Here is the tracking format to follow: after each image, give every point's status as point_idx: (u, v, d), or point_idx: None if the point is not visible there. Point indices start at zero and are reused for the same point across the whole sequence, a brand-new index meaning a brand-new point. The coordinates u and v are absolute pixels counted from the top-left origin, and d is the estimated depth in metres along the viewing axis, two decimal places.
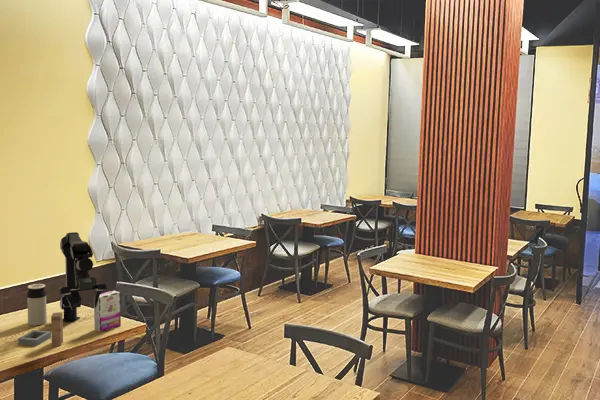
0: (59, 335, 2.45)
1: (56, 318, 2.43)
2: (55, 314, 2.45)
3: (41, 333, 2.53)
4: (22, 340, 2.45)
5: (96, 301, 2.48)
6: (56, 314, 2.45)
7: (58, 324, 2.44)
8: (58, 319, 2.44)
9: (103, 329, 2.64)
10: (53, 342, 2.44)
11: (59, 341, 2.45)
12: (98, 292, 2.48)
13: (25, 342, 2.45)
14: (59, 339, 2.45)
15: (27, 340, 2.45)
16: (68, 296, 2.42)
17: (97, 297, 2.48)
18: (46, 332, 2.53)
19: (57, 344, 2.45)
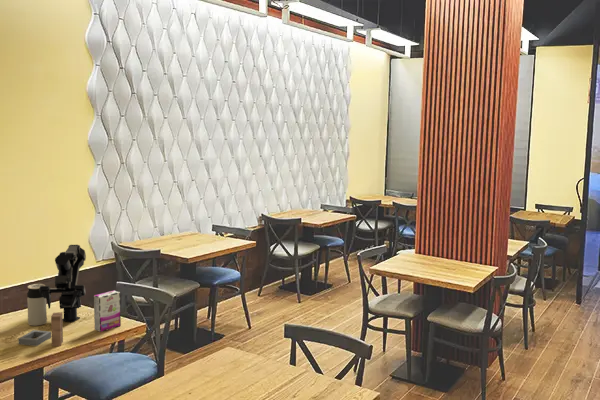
0: (59, 335, 2.45)
1: (56, 318, 2.43)
2: (55, 314, 2.45)
3: (41, 333, 2.53)
4: (22, 340, 2.45)
5: (72, 301, 2.55)
6: (56, 314, 2.45)
7: (58, 324, 2.44)
8: (58, 319, 2.44)
9: (103, 329, 2.64)
10: (53, 342, 2.44)
11: (59, 341, 2.45)
12: (75, 292, 2.56)
13: (25, 342, 2.45)
14: (59, 339, 2.45)
15: (27, 340, 2.45)
16: (45, 293, 2.54)
17: (74, 297, 2.56)
18: (46, 332, 2.53)
19: (57, 344, 2.45)
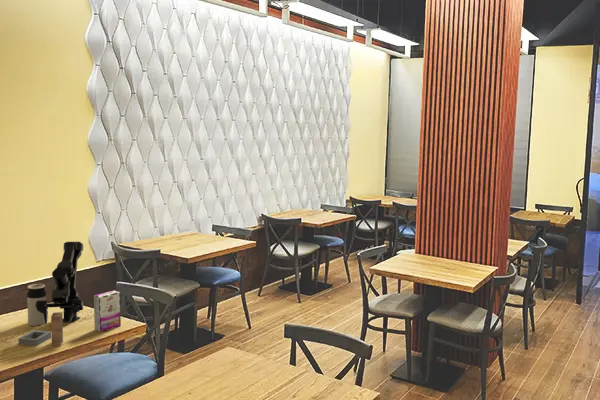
0: (59, 335, 2.45)
1: (56, 318, 2.43)
2: (55, 314, 2.45)
3: (41, 333, 2.53)
4: (22, 340, 2.45)
5: (70, 316, 2.49)
6: (56, 314, 2.45)
7: (58, 324, 2.44)
8: (58, 319, 2.44)
9: (103, 329, 2.64)
10: (53, 342, 2.44)
11: (59, 341, 2.45)
12: (72, 306, 2.50)
13: (25, 342, 2.45)
14: (59, 339, 2.45)
15: (27, 340, 2.45)
16: (42, 308, 2.48)
17: (71, 312, 2.50)
18: (46, 332, 2.53)
19: (57, 344, 2.45)
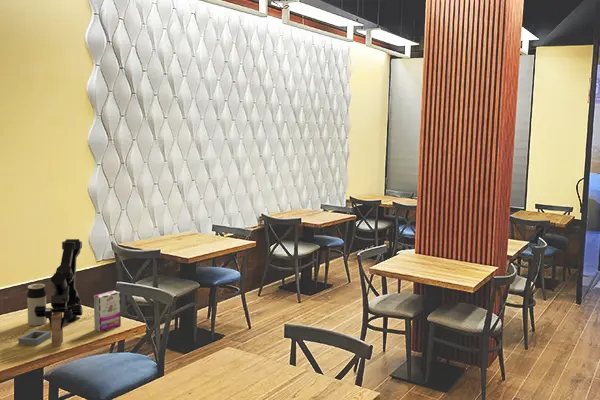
0: (59, 335, 2.45)
1: (56, 318, 2.43)
2: (55, 314, 2.45)
3: (41, 333, 2.53)
4: (22, 340, 2.45)
5: (62, 322, 2.46)
6: (56, 314, 2.45)
7: (58, 324, 2.44)
8: (58, 319, 2.44)
9: (103, 329, 2.64)
10: (53, 342, 2.44)
11: (59, 341, 2.45)
12: (65, 312, 2.48)
13: (25, 342, 2.45)
14: (59, 339, 2.45)
15: (27, 340, 2.45)
16: (48, 313, 2.46)
17: (64, 318, 2.47)
18: (46, 332, 2.53)
19: (57, 344, 2.45)
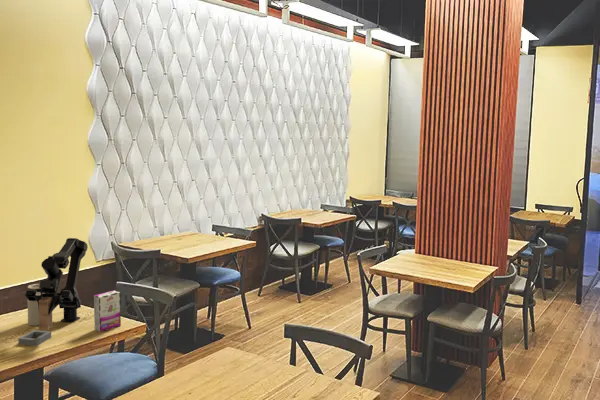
0: (46, 320, 2.44)
1: (43, 303, 2.43)
2: (43, 299, 2.46)
3: (41, 333, 2.53)
4: (22, 340, 2.45)
5: (50, 307, 2.46)
6: (44, 299, 2.46)
7: (45, 309, 2.44)
8: (45, 304, 2.43)
9: (103, 329, 2.64)
10: (40, 326, 2.45)
11: (46, 326, 2.45)
12: (53, 297, 2.47)
13: (25, 342, 2.45)
14: (46, 324, 2.45)
15: (27, 340, 2.45)
16: (37, 298, 2.47)
17: (52, 303, 2.47)
18: (46, 332, 2.53)
19: (44, 329, 2.45)
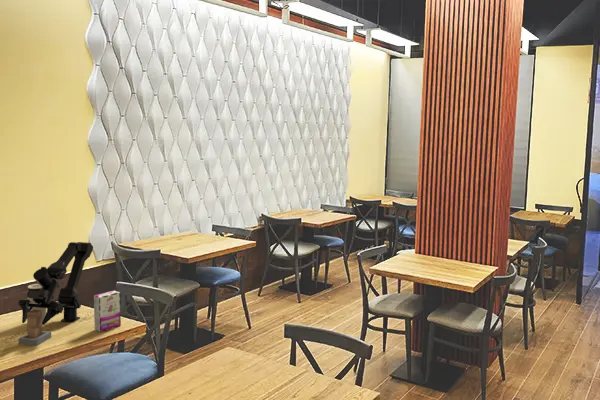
0: (34, 332, 2.47)
1: (31, 315, 2.46)
2: (33, 311, 2.48)
3: None
4: (22, 340, 2.45)
5: (44, 318, 2.48)
6: (33, 311, 2.48)
7: (33, 321, 2.46)
8: (33, 316, 2.46)
9: (103, 329, 2.64)
10: None
11: (34, 338, 2.47)
12: (48, 308, 2.49)
13: (25, 342, 2.45)
14: (34, 336, 2.47)
15: (27, 340, 2.45)
16: (22, 307, 2.50)
17: (47, 314, 2.48)
18: (46, 332, 2.53)
19: None
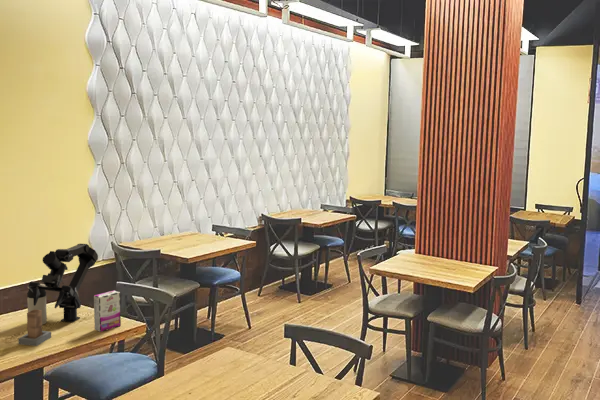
0: (34, 332, 2.47)
1: (31, 315, 2.46)
2: (33, 311, 2.48)
3: None
4: (22, 340, 2.45)
5: (57, 301, 2.55)
6: (33, 311, 2.48)
7: (33, 321, 2.46)
8: (33, 316, 2.46)
9: (103, 329, 2.64)
10: None
11: (34, 338, 2.47)
12: (60, 292, 2.56)
13: (25, 342, 2.45)
14: (34, 336, 2.47)
15: (27, 340, 2.45)
16: (33, 290, 2.56)
17: (59, 298, 2.55)
18: (46, 332, 2.53)
19: None
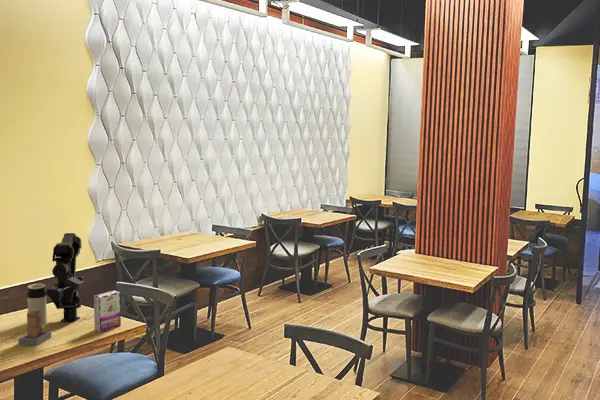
0: (34, 332, 2.47)
1: (31, 315, 2.46)
2: (33, 311, 2.48)
3: None
4: (22, 340, 2.45)
5: (72, 297, 2.65)
6: (33, 311, 2.48)
7: (33, 321, 2.46)
8: (33, 316, 2.46)
9: (103, 329, 2.64)
10: None
11: (34, 338, 2.47)
12: None
13: (25, 342, 2.45)
14: (34, 336, 2.47)
15: (27, 340, 2.45)
16: (60, 297, 2.53)
17: (73, 293, 2.65)
18: (46, 332, 2.53)
19: None
